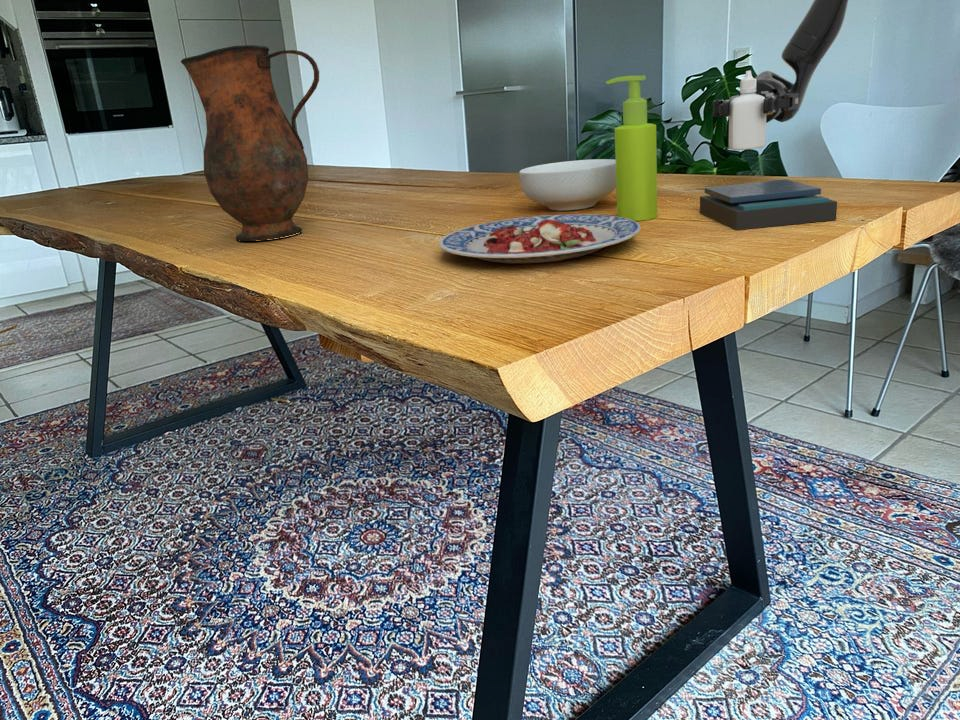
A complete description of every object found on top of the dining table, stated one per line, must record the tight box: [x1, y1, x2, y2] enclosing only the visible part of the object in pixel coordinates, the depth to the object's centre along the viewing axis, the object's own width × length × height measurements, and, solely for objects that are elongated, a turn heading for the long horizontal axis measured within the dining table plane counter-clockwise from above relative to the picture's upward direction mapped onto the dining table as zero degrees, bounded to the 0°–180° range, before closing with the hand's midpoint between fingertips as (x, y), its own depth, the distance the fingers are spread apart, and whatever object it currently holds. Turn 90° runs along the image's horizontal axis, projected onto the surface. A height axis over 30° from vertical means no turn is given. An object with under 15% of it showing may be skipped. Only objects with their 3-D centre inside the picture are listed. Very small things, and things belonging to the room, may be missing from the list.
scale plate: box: [704, 179, 822, 203], centre depth 102 cm, size 12×11×1 cm
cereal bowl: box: [518, 158, 616, 212], centre depth 124 cm, size 17×17×7 cm
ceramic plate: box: [438, 213, 641, 264], centre depth 95 cm, size 26×26×3 cm
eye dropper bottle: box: [728, 70, 767, 151], centre depth 119 cm, size 4×6×12 cm
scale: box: [699, 195, 838, 231], centre depth 102 cm, size 13×15×3 cm
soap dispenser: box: [605, 75, 658, 222], centre depth 107 cm, size 6×7×20 cm
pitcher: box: [180, 44, 320, 242], centre depth 122 cm, size 17×21×30 cm
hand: (744, 108), depth 117 cm, fingers closed on eye dropper bottle, 5 cm apart
